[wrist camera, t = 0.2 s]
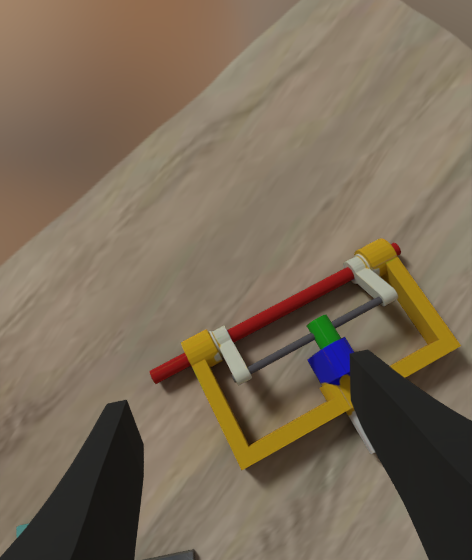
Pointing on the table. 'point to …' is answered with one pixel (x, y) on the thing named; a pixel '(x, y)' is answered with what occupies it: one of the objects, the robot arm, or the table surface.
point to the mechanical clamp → (325, 363)
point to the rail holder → (176, 556)
